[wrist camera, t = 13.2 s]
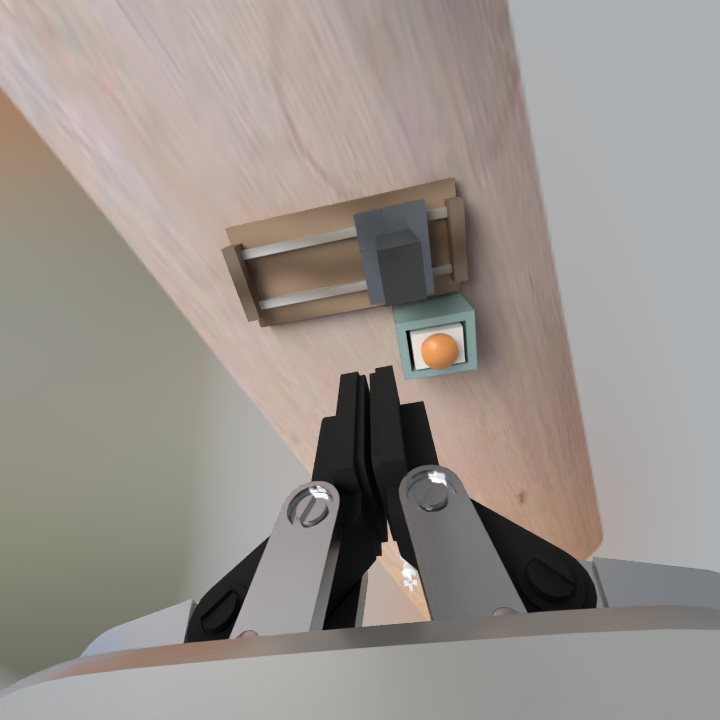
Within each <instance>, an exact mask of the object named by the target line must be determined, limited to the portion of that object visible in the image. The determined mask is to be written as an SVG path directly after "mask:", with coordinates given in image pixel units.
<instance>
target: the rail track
mask: <svg viewBox="0 0 720 720" xmlns="http://www.w3.org/2000/svg"><path fill="white" fill-rule="evenodd" d="M419 199H425V206H426V216H427V225H428V235H429V245H430V254H431V264H432V274H433V284H434V294H428V295H427V297H428V296H434V295H439V294H445V293H450V292H456V291H461V290H462V285H461V282H462V281H467V280H468V265H467V247H466V229H465V210H464V197H459V196H458V197H456V192H455V178H449V179H444V180H440V181H435V182H431V183H426V184H422V185H417V186H413V187H408V188H404V189H399V190H395V191H391V192H386V193H382V194H377V195H373V196H368V197H364V198H359V199H355V200H350V201H346V202H341V203H337V204H332V205H328V206H323V207H319V208H314V209H310V210H305V211H301V212H296V213H292V214H287V215H283V216H278V217H274V218H269V219H265V220H260V221H256V222H251V223H247V224H242V225H238V226H233V227H230V228H227V229H226V232H227V235H228V237H229V240H230V243H231V246H228V247H226V248H224V249H221V250H222V253H223V256H224V258H225V261H226V264H227V266H228V269H229V272H230V274H231V277H232V280H233V282H234V285H235V288H236V290H237V293H238V295H239V298H240V301H241V303H242V306H243V309H244V311H245V314H246V317H247V319H248V322H249V321H254V320H259V323H260V326H261V327H266V326H272V325H277V324H282V323H288V322H293V321H299V320H304V319H309V318H315V317H320V316H326V315H331V314H336V313H342V312H347V311H353V310H358V309H364V308H369V307H374V306H380V305H385V304H386V303H380V304H374V305H370V300H369V294H368V289H367V284H366V279H365V274H364V269H363V264H362V258H361V253H360V248H359V243H358V238H357V233H356V228H355V223H354V217H353V214H355V213H360V212H364V211H369V210H373V209H378V208H383V207H387V206H392V205H396V204H401V203H406V202H410V201H415V200H419Z"/></svg>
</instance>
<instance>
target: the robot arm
mask: <svg viewBox="0 0 720 720" xmlns="http://www.w3.org/2000/svg"><path fill="white" fill-rule="evenodd" d="M375 372H376V373H372V374H370V391H369V387H368V384H367V380H366V376H365V375H361V376H359V373H358V372H353V373H347V374H342V375H341V377H340V386H339V394H338V402H337V410H336V416H331V417H325V418H323V419H322V423H321V429H320V435H319V440H318V446H317V452H316V458H315V463H314V469H313V475H312V481H311V482H309V483H306V484H304V485H301V486H300V487H299V488H297V489H296V490H294V491H293V492H292V493H291V494H290V495H289V496H288V497H287V499H286V500H285V502H284V504H283V506H282V508H281V511H280V513H279V516H278V518H277V521H276V523H275V526H274V528H273V531H272V533H271V535H270V536H269V537H268V538H267V539H266V540H265V541H264V542H262V543H261V544H260V545H259V546H258V547H257V548H256V549H255V550H253V551H252V552H251V553H250V554H249V555H248V556H247V557H246V558H245V559H244V560H242V561H241V562H240V563H239V564H238V565H237V566H236V567H235V568H234V569H232V570H231V571H230V572H229V573H228V574H227V575H226V576H224V577H223V578H222V579H221V580H220V581H219V582H218V583H217V584H216V585H215V586H213V587H212V588H211V589H210V590H209V591H208V592H207V593H206V595H204V597H203V598H202V599H201V600H200V601H199V602H195V601H194V600H193V599H191V600H188V601H185V602H183V603H180V604H177V605H174V606H172V607H169V608H166V609H163V610H161V611H158V612H155V613H152V614H150V615H147V616H144V617H141V618H138V619H136V620H133V621H130V622H127V623H125V624H122V625H119V626H116V627H114V628H112V629H110V630H108V631H106V632H104V633H102V634H101V635H100V636H99V637H98V638H97V639H95V640H94V641H93V642H92V643H91V644H90V645H89V646H88V647H87V649H86V650H85V651H84V652H83V653H82V655H81V656H80V657H79V658H78V659H75V660H71V661H68V662H64V663H60V664H58V665H55V666H52V667H50V668H47V669H44V670H42V671H39V672H37V673H35V674H33V675H30V676H28V677H26V678H24V679H22V680H20V681H18V682H16V683H14V684H12V685H10V686H8V687H6V688H4V689H3V690H1V691H0V720H720V573H718V572H714V571H710V570H703V569H694V568H686V567H677V566H668V565H659V564H651V563H641V562H633V561H625V560H616V559H607V558H598V557H593V562H590V561H582V560H576V559H575V558H574V557H572V556H571V555H569V554H568V553H567V552H565V551H563V550H562V549H560V548H558V547H556V546H555V545H553V544H551V543H549V542H547V541H546V540H544V539H542V538H540V537H538V536H537V535H535V534H533V533H531V532H530V531H528V530H526V529H524V528H522V527H521V526H519V525H517V524H515V523H514V522H512V521H510V520H508V519H506V518H505V517H503V516H501V515H499V514H497V513H496V512H494V511H492V510H490V509H489V508H487V507H485V506H483V505H481V504H480V503H478V502H476V501H474V500H472V499H471V498H469V496H468V494H467V492H466V490H465V488H464V486H463V484H462V482H461V480H460V479H459V478H458V476H457V475H456V474H455V473H454V472H452V471H451V470H449V469H448V468H445V467H442V466H439V463H438V459H437V455H436V451H435V447H434V442H433V438H432V434H431V430H430V426H429V422H428V418H427V414H426V410H425V406H424V402H423V401H421V402H415V403H409V404H403V405H400V401H399V396H398V391H397V386H396V381H395V376H394V372H393V367H392V365H391V366H386V367H380V368H376V369H375ZM387 520H388V524H389V527H390V531H391V534H392V538H393V541H397V544H398V548H399V552H400V555H401V557H402V558H403V559H404V560H405V561H407V562H408V563H409V564H410V565H411V566H413V567H414V568H415V569H416V570H417V571H418V574H419V578H420V581H421V585H422V589H423V592H424V596H425V600H426V603H427V607H428V610H429V614H430V618H431V621H426V622H414V623H403V624H392V625H380V626H369V627H362V621H363V615H364V607H365V599H366V592H367V584H368V571H367V570H368V569H369V568H370V566H371V565H372V564H373V563H374V562H375V560H376V556H382V548H381V543H382V542H388V530H387Z"/></svg>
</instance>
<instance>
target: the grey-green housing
mask: <svg viewBox="0 0 720 720" xmlns="http://www.w3.org/2000/svg"><path fill="white" fill-rule="evenodd" d="M392 308H393V314H394V320H395V326H396V332H397V339H398V345H399V351H400V357H401V362H402V368H403V373H404V379H405V380H410V379H416V378H423V377H429V376H435V375H442V374H448V373H454V372H461V371H467V370H473V369H477V350H476V329H475V310H474V309H473V308H472V307H471V305H470V304H469V303H468V302H467V300H466V299H465V298H464V297H463V296H462V294H461V293H460V292H459V291H456V292H450V293H445V294H439V295H434V296H428V297H427V299H423V300H418V301H412V302H407V303H401V304H396V305H392ZM453 322H460V323H461V325H462V327H463V340H464V355H465V362H461V363H455V364H452V365H451V366H450V367H448V368H445V369H433V368H424V369H418V370H416V368H415V364H414V360H413V356H412V352H411V348H410V345H408V343H407V337H406V331H407V330H413V329H419V328H424V327H430V326H436V325H442V324H447V323H453Z"/></svg>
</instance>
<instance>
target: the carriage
mask: <svg viewBox="0 0 720 720" xmlns="http://www.w3.org/2000/svg"><path fill="white" fill-rule="evenodd" d="M353 217H354V223H355V228H356V233H357V238H358V243H359V248H360V253H361V258H362V264H363V269H364V274H365V279H366V284H367V289H368V294H369V300H370V305H374V304H380V303H386V306H391V305H396V304H401V303H407V302H412V301H418V300H423V299H427V295H428V294H434V284H433V274H432V264H431V254H430V245H429V235H428V225H427V216H426V206H425V199H419V200H415V201H410V202H406V203H401V204H396V205H392V206H387V207H383V208H378V209H373V210H369V211H364V212H360V213H355V214H353Z"/></svg>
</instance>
